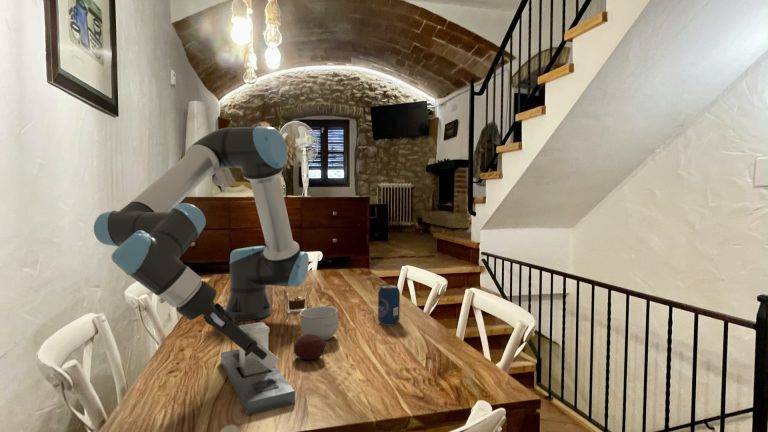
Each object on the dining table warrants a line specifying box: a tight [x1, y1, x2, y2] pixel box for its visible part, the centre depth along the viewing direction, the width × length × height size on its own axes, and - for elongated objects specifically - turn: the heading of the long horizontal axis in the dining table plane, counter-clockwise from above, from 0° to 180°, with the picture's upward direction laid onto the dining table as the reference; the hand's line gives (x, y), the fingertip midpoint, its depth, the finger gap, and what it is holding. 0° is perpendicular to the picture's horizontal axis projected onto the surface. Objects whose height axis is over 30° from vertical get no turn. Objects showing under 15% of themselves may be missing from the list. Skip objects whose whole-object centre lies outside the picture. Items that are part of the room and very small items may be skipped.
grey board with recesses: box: [220, 348, 296, 416], centre depth 89 cm, size 28×9×3 cm, turn 31°
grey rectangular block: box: [238, 321, 270, 378], centre depth 89 cm, size 5×5×12 cm
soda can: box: [377, 283, 401, 326], centre depth 132 cm, size 7×7×12 cm
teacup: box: [299, 304, 339, 341], centre depth 119 cm, size 14×11×8 cm
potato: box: [293, 334, 326, 360], centre depth 102 cm, size 7×8×6 cm
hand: (268, 356), depth 91 cm, fingers open, 9 cm apart
